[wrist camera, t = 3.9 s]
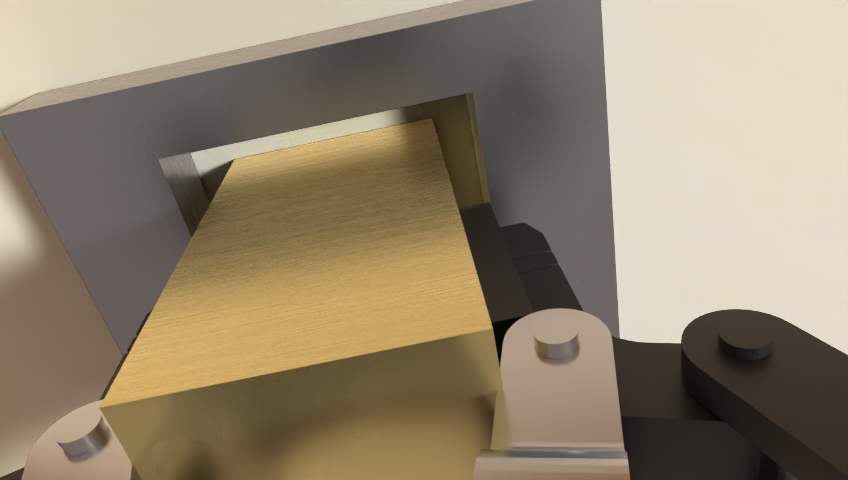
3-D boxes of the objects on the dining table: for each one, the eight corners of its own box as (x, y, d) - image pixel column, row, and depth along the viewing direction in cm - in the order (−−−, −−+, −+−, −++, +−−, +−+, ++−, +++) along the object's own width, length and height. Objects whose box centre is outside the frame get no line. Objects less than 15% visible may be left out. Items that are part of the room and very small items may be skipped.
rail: (38, 93, 12) (-7, 117, 10) (573, -24, 11) (599, -15, 10) (341, 704, 22) (339, 755, 21) (623, 650, 22) (639, 698, 20)
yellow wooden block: (234, 159, 12) (99, 407, 6) (432, 117, 12) (493, 328, 6) (293, 321, 14) (233, 633, 8) (464, 285, 14) (535, 575, 8)
